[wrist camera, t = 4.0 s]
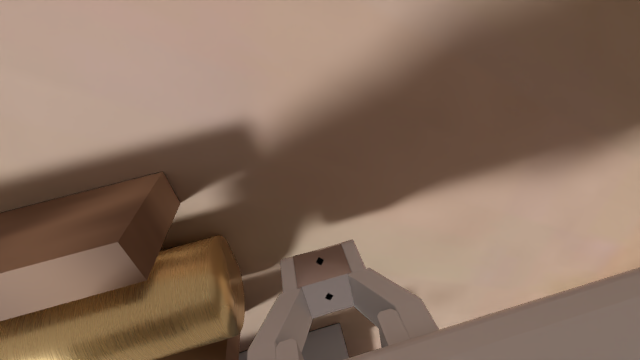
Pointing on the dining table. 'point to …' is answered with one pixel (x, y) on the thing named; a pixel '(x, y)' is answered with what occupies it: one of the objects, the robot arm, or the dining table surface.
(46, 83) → the dining table surface
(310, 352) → the cradle
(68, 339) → the axle
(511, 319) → the robot arm
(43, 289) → the pair of brown bars
